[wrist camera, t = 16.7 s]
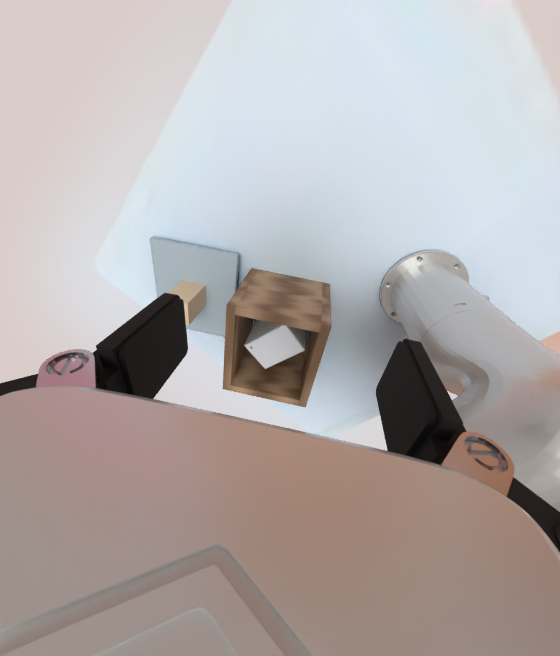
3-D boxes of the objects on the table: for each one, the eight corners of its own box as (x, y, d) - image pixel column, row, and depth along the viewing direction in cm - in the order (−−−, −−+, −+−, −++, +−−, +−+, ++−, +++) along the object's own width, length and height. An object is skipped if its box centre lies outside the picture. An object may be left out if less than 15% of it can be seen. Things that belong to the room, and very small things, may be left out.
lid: (241, 251, 42) (222, 270, 35) (235, 332, 51) (220, 361, 44) (157, 234, 43) (120, 250, 35) (166, 317, 52) (139, 344, 44)
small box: (274, 334, 50) (264, 370, 42) (257, 312, 48) (242, 346, 39) (309, 316, 47) (306, 351, 38) (292, 292, 45) (285, 323, 36)
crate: (329, 284, 43) (331, 326, 32) (309, 354, 52) (305, 407, 40) (251, 268, 44) (226, 304, 32) (244, 340, 52) (222, 388, 41)
